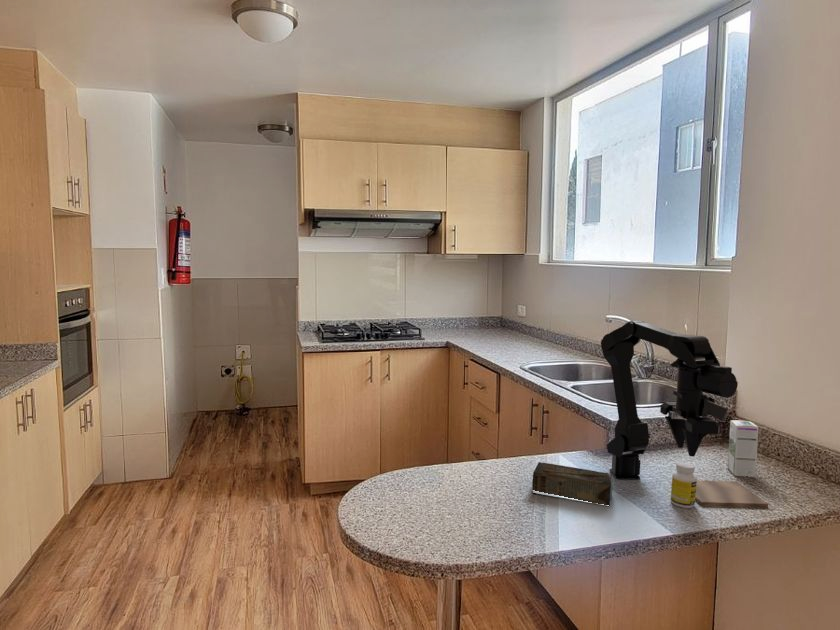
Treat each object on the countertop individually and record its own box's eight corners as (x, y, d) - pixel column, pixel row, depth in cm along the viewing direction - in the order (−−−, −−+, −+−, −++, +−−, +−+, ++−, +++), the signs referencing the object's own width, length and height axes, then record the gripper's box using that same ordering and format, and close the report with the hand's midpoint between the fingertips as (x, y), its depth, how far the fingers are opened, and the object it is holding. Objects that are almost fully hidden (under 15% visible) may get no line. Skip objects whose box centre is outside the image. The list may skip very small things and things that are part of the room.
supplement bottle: (693, 510, 134) (696, 470, 133) (668, 505, 137) (671, 465, 136) (696, 502, 138) (698, 463, 138) (672, 497, 141) (674, 459, 140)
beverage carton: (611, 508, 135) (612, 481, 134) (530, 495, 142) (531, 470, 141) (612, 496, 142) (613, 470, 142) (536, 484, 149) (536, 459, 148)
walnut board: (701, 506, 137) (701, 502, 136) (676, 483, 150) (676, 479, 150) (768, 507, 136) (768, 503, 136) (736, 485, 150) (737, 481, 150)
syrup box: (756, 477, 156) (760, 426, 154) (733, 475, 157) (736, 424, 156) (748, 470, 161) (752, 420, 160) (726, 468, 162) (729, 419, 161)
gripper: (745, 398, 126) (740, 466, 127) (705, 381, 144) (701, 440, 146) (695, 397, 126) (690, 465, 127) (661, 380, 144) (657, 439, 146)
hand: (685, 451), depth 136 cm, fingers open, 6 cm apart
